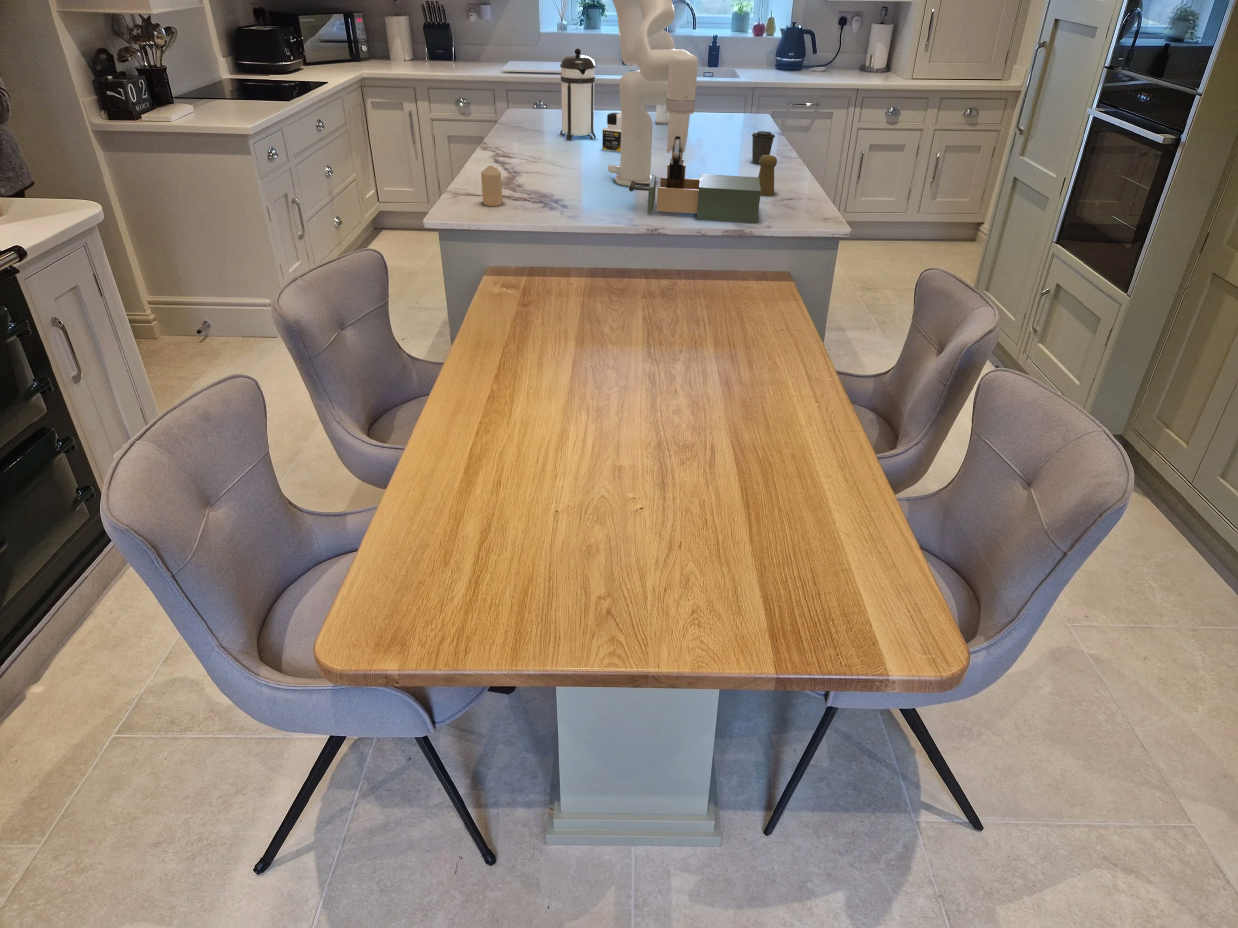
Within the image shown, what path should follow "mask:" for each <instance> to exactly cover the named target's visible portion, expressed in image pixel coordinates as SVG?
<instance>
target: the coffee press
mask: <svg viewBox="0 0 1238 928" xmlns="http://www.w3.org/2000/svg"><path fill="white" fill-rule="evenodd" d="M574 54H575V55H568V56H565V57H564V58H562V60H561V63H560V64H559V67H560V83H561V85H560V86H561V92H560V93H561V130H560V131H559V134H560V135H561V136H564V135H566V136H565V139H566V140H567V141H571V140H572V138H573V137H582V136H583V137H584V136H588V137H589V138H590V140H595V139H596V137H597V136H596V133H595V131H594V130H595V129H594V128H595V82H596V76H595V69H596V64H595V61H594V59H592V58H591V57H589V56H587V55H586V56H585V55H581V54H582V50H581V49H580V48H576V49H574Z"/></svg>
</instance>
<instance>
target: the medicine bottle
mask: <svg viewBox="0 0 1238 928" xmlns="http://www.w3.org/2000/svg"><path fill="white" fill-rule="evenodd" d="M606 126H607V127H604V128H603V129H602V143H601V145H602V146H601V149H602V151H610V152H617V153H621V112H610V113H608V114H607V115H606Z"/></svg>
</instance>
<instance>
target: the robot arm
mask: <svg viewBox="0 0 1238 928" xmlns="http://www.w3.org/2000/svg"><path fill="white" fill-rule="evenodd" d="M612 4H613V5H614V9H615V12H616V16H617V25H618V35H619V46H620V47H619V49H620V56H621V60H622V62H623V64H624V65H626V66H627V67H637V68H638V69H639V70H632V71H631V70H630V71H627V72H625V73H624V74H622V76H621V77H620V79H619V82H618V83H619V84H618V91H619V99H620V111H621V112H620V113H621V152H620V159H619V160H620V161H619V162H620V163H619V164H618V165H614V164H609V165H608V166H607V170H608V172H609V173H611V174H616V175H615V176H614V182H615V183H616V184H618V185H621V186H627V187H629V186H630V184H631V182H632V181H635V182H636V183H650V181H651V178H652V175H651V167H652V166H651V165H652V146H653V130H654V129H653V126H654V123H653V119H652V117H651V114H649V112H648V110H647V108H646V107H652V106H653V107H654V106H655V107H656V105H666V112H667V113H670V115H669V124H668V127H667V141H666V143H667V144H666V152H667V153H668V154H669V153H670V152H671V157H670V158H671V164H670V179H672V180H681V174H682V164H681V160H682V158H683V157H684V155H683V154H684V153H685V152H686V147H687V141H688V137H689V136H688V135H689V124H690V115H693V114H695V106H696V94H697V93H696V91H697V77H698V66H699V65H698V64H699V61H698V57H697V56H696V55H694V54H692V53H690V52H689V51H688V50H685V49H680V48H679V49H678V48H677V49H676V47H675V42H674V38H673V36H672V35H671V34H670V33H669V32H668V31H666V30H665V29H666V28H668V27H669V26H670V25H671V24H672V23H673V22H674V20H675V17H676V12H675V11H676V10H675V8H674V4H673V0H612ZM679 160H680V161H679ZM635 187H638V188H640V186H639V185H635Z"/></svg>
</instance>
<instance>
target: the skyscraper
mask: <svg viewBox="0 0 1238 928" xmlns="http://www.w3.org/2000/svg"><path fill="white" fill-rule="evenodd" d="M655 115H656V116H655V124H656V125H665V126H667V125H668V124H669V115H670V113H667V112H666V105H656V106H655Z"/></svg>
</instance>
